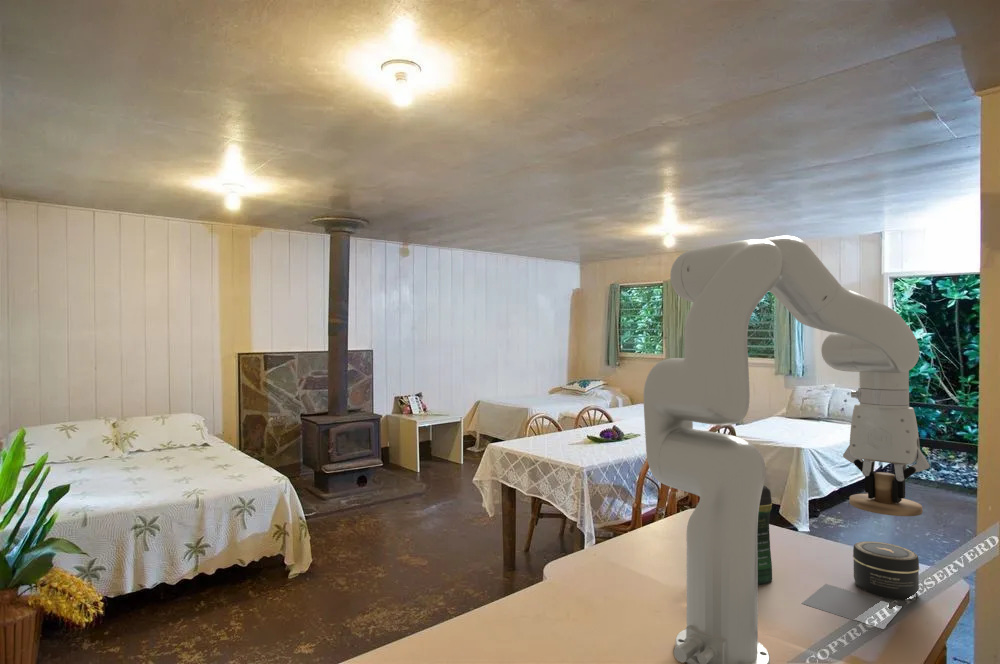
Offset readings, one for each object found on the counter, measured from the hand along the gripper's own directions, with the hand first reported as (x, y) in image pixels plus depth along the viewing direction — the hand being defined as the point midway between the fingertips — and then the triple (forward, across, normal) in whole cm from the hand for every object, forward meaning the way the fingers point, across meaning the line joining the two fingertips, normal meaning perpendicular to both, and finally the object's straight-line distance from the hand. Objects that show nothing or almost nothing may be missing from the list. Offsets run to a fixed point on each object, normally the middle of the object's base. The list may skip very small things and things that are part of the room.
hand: (884, 498), depth 104 cm
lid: (+2, 0, 0) cm, 2 cm away
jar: (+17, 0, 0) cm, 17 cm away
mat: (+17, -2, -12) cm, 21 cm away
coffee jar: (+17, -20, -13) cm, 29 cm away
